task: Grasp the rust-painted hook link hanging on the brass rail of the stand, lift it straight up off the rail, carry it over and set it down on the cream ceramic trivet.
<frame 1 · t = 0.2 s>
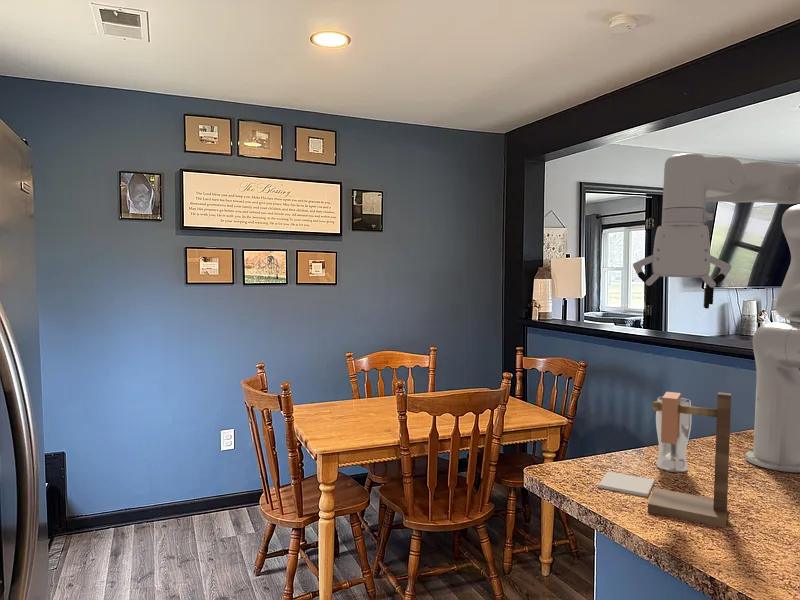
hand: (678, 306, 114), 36 cm above the countertop, tool pointing down, fingers open, 9 cm apart
stand: (687, 510, 103), on the countertop
beer glass: (671, 468, 126), on the countertop
trivet: (626, 485, 115), on the countertop
link: (670, 439, 104), point 12 cm above the countertop, touching stand
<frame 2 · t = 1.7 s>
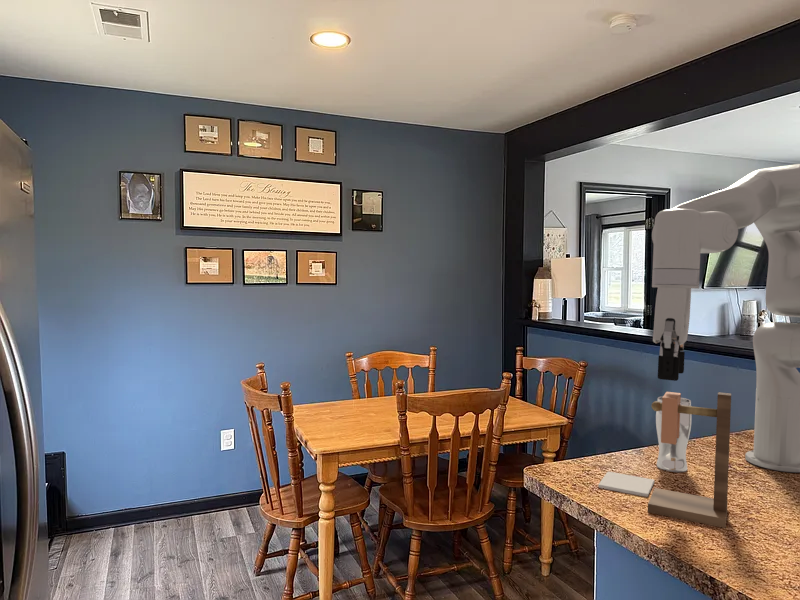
hand: (671, 375, 103), 24 cm above the countertop, tool pointing down, fingers open, 9 cm apart
nothing on the countertop moved.
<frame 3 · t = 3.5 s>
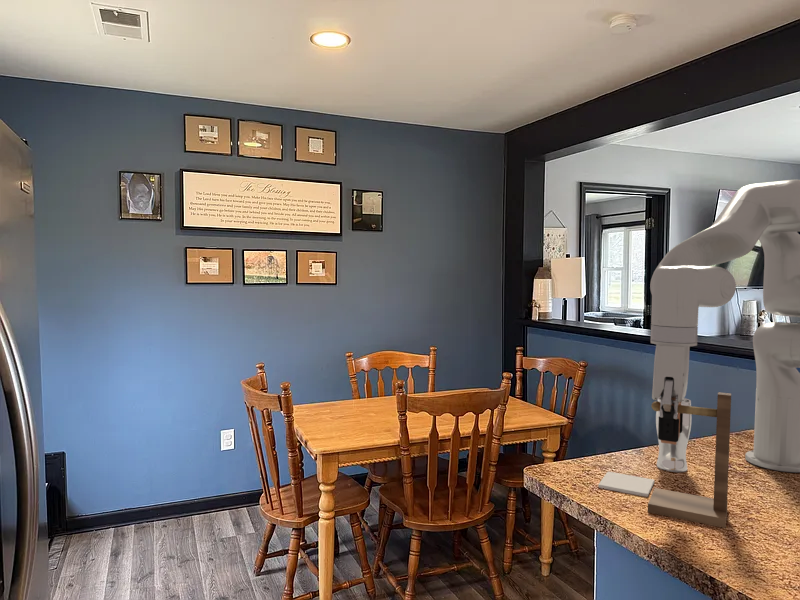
hand: (670, 435, 104), 13 cm above the countertop, tool pointing down, fingers closed on link, 6 cm apart
link: (670, 439, 104), point 12 cm above the countertop, touching gripper, stand
everything else where it was.
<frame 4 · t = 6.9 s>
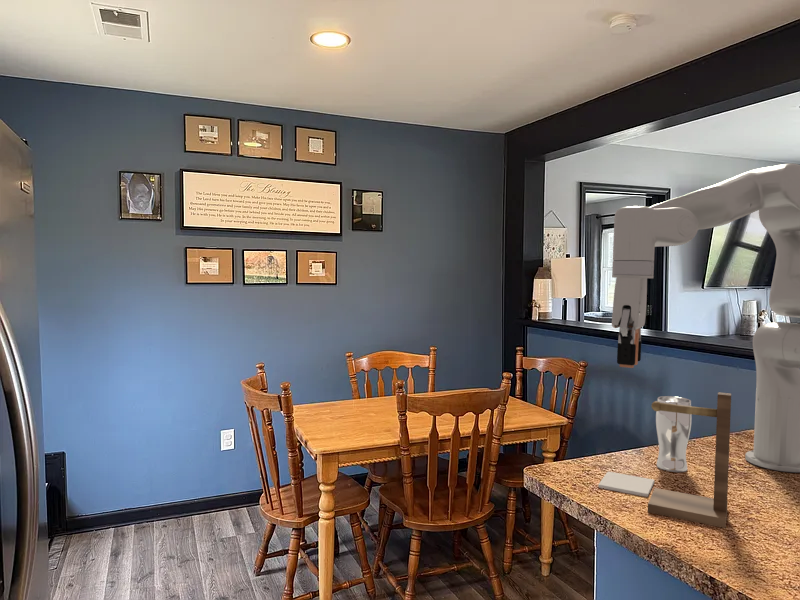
hand: (629, 361, 114), 25 cm above the countertop, tool pointing down, fingers closed on link, 6 cm apart
link: (628, 365, 114), point 24 cm above the countertop, touching gripper
everything else where it was.
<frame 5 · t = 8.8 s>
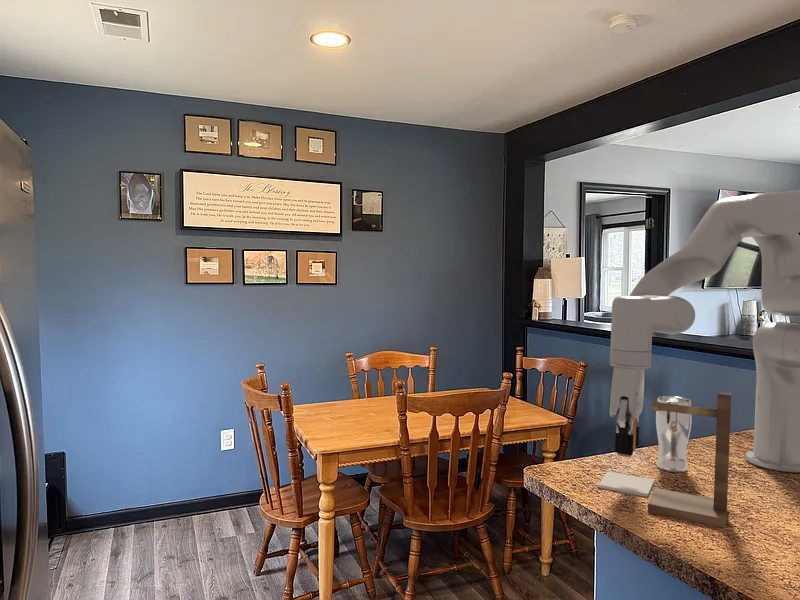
hand: (626, 448, 115), 7 cm above the countertop, tool pointing down, fingers closed on link, 6 cm apart
link: (626, 452, 115), point 7 cm above the countertop, touching gripper
everything else where it was.
when the fingers open (2 cm above the countertop, at t = 10.4 s): link stays where it is, resting on trivet.
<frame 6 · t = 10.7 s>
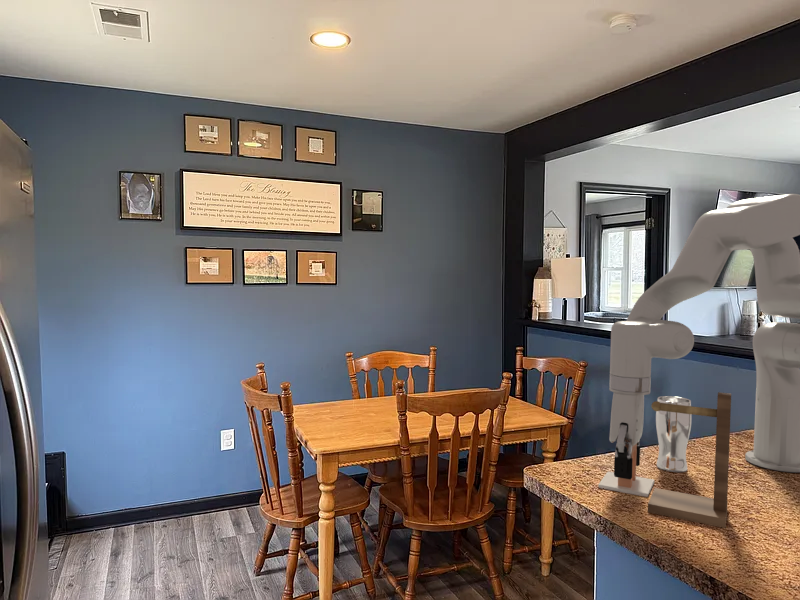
hand: (627, 470, 115), 3 cm above the countertop, tool pointing down, fingers open, 8 cm apart
link: (626, 482, 115), point 1 cm above the countertop, touching trivet
everything else where it was.
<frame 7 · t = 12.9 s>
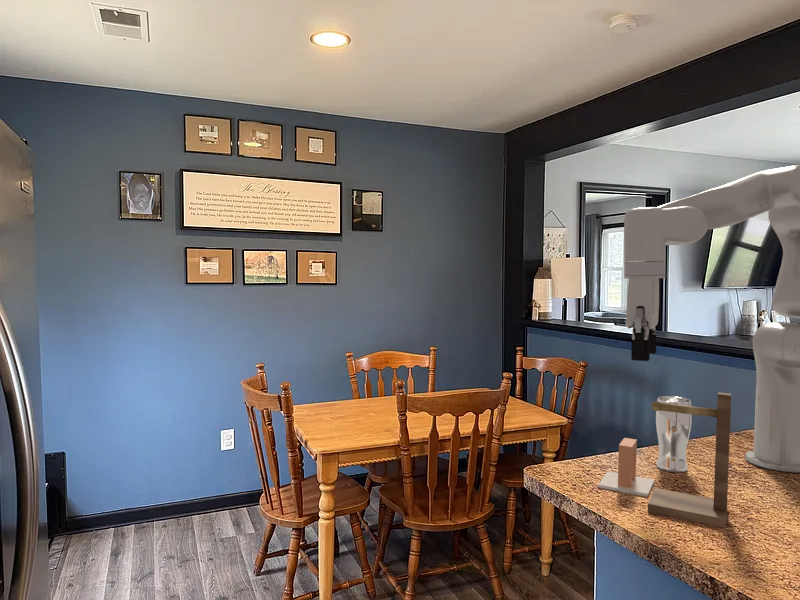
hand: (644, 356, 116), 25 cm above the countertop, tool pointing down, fingers open, 9 cm apart
nothing on the countertop moved.
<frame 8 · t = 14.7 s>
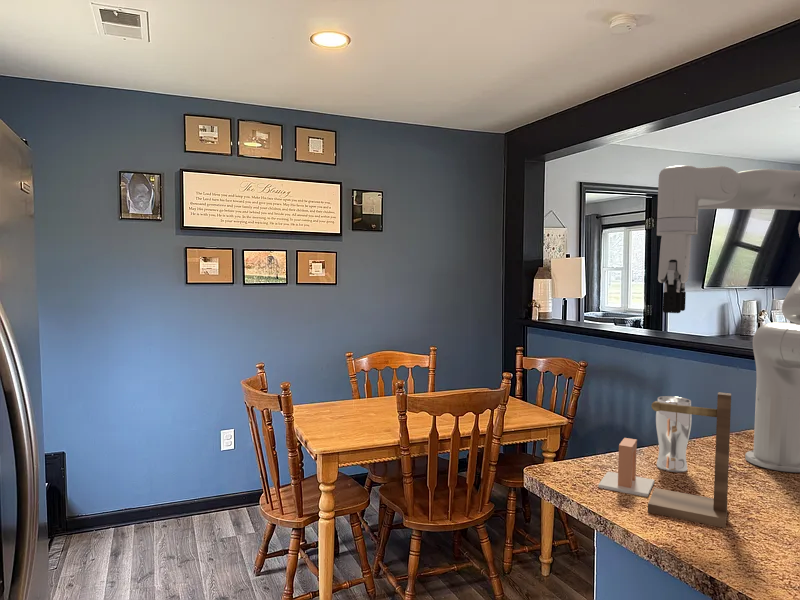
hand: (674, 311, 120), 34 cm above the countertop, tool pointing down, fingers open, 9 cm apart
nothing on the countertop moved.
at the end: link inside the target area on the trivet (0.0 cm from its centre), point 0.6 cm above the trivet's base; link touching trivet; the gripper is holding nothing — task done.
